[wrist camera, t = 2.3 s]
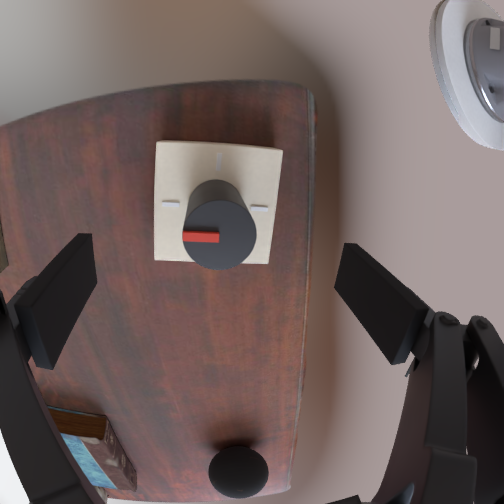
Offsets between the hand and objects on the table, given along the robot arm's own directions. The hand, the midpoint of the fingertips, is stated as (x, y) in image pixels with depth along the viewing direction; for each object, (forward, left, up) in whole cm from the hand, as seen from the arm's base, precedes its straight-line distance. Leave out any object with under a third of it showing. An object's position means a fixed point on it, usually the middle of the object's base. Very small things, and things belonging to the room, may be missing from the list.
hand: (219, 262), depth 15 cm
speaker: (-5, +43, -13) cm, 45 cm away
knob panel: (0, 0, -13) cm, 13 cm away
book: (+24, +45, -13) cm, 52 cm away
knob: (0, 0, -10) cm, 10 cm away
